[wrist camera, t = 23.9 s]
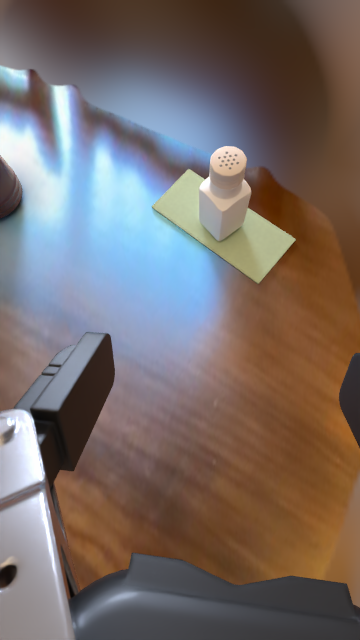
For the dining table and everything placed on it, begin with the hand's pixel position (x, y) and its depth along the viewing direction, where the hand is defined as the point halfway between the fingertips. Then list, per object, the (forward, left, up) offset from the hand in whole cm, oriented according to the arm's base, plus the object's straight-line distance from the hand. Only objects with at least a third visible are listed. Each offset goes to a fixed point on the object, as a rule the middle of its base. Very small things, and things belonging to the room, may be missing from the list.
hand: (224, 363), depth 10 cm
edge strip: (+2, -19, -21) cm, 28 cm away
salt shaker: (+2, -19, -21) cm, 28 cm away
